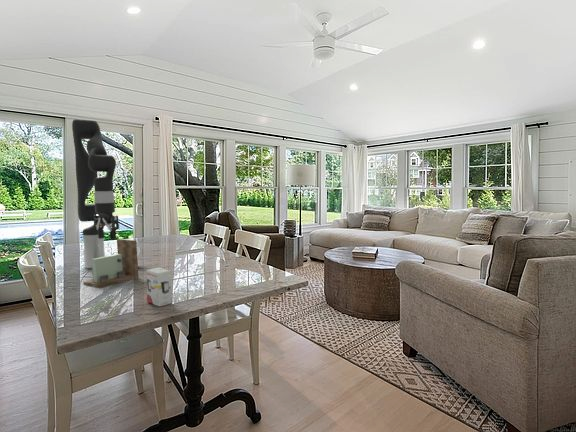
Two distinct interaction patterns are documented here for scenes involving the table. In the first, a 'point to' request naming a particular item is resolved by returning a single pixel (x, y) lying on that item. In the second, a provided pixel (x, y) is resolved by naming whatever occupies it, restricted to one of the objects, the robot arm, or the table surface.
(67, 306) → the table surface
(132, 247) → the wooden l-shaped stand
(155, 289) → the ink box
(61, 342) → the table surface
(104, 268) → the door
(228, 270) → the table surface
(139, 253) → the lightbulb
